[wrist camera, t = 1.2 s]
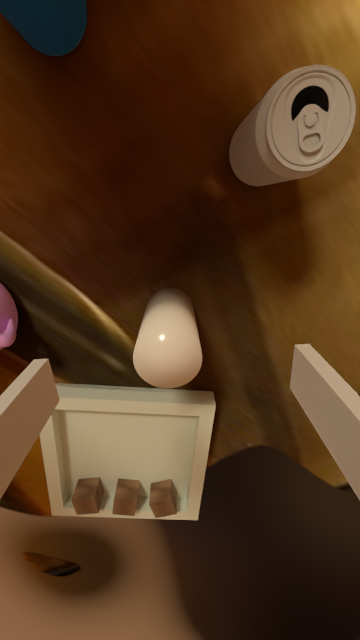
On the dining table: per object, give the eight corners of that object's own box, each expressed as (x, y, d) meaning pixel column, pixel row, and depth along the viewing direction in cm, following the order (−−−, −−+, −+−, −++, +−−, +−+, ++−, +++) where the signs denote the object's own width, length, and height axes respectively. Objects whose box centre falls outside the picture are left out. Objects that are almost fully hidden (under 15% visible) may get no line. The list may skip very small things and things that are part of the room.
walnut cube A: (83, 493, 47) (76, 514, 43) (78, 478, 45) (71, 500, 42) (104, 491, 46) (98, 513, 43) (99, 477, 45) (94, 498, 42)
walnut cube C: (157, 496, 47) (155, 518, 44) (150, 483, 46) (148, 504, 43) (176, 492, 47) (176, 513, 44) (171, 478, 46) (170, 499, 42)
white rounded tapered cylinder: (145, 330, 36) (132, 386, 25) (146, 286, 34) (133, 325, 23) (191, 333, 36) (198, 389, 25) (195, 289, 34) (206, 330, 23)
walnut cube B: (116, 492, 47) (112, 514, 43) (118, 478, 45) (113, 499, 42) (137, 494, 47) (134, 516, 44) (139, 480, 46) (136, 501, 42)
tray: (59, 497, 48) (51, 515, 45) (43, 382, 39) (33, 396, 36) (196, 502, 49) (197, 520, 46) (213, 391, 40) (215, 405, 37)
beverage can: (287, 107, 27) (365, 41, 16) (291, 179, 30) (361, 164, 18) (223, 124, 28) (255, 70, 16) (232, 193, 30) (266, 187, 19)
